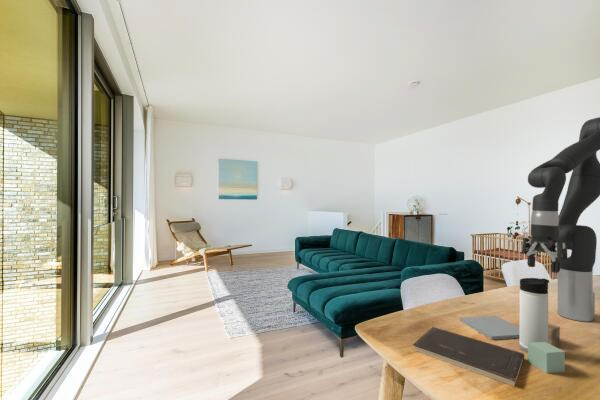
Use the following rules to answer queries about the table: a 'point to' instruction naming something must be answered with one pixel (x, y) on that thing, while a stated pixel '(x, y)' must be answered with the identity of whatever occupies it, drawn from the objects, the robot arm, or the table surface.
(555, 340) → the walnut block
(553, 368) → the sage block
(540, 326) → the travel mug
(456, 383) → the table surface
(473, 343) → the hardcover book
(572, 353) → the table surface
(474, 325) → the slate board
